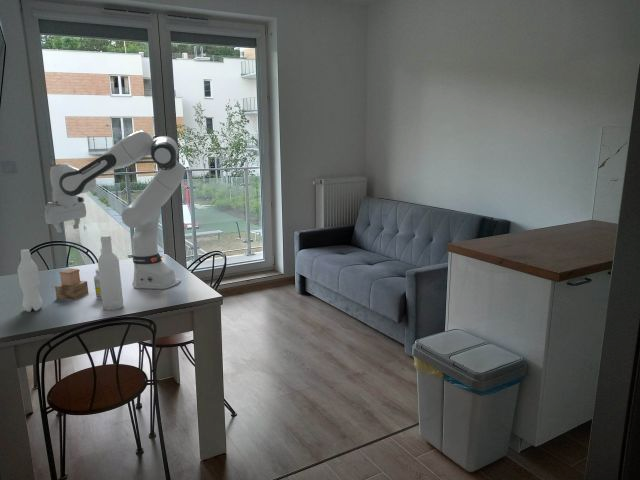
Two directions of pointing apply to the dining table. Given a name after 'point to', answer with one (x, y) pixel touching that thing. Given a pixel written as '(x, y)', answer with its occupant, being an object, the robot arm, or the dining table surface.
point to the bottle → (109, 276)
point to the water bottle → (29, 282)
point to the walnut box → (71, 291)
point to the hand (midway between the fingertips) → (68, 230)
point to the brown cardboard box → (70, 277)
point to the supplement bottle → (97, 285)
